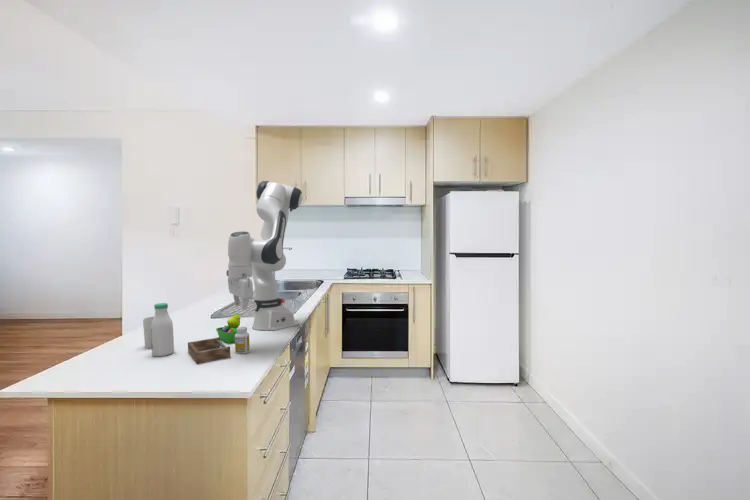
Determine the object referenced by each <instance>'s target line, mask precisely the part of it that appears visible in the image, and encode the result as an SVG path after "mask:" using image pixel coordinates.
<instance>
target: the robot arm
mask: <svg viewBox="0 0 750 500" xmlns="http://www.w3.org/2000/svg"><path fill="white" fill-rule="evenodd" d="M255 193H256V198H257V200H258V201H257V204H256V213H257V215H258V217H259V218H260V219H262V220H263V224H262V229H261V231H260V236H261V239H254V238H252V237H251V234H250V232H249V231H235V232H232V233H231V234H230V235H229V237H228V242H227V243H228V244H227V257H228V260H229V261H228V265H227V266H228V269H227V270H226V276H227V284H228V285H227V286H228V291H229V293H230V294H232V296H233V297H232V298H233V301H234V306H236V307H239V306H241V309H242V310H244V311H246V310H248V308H249V307H248V305H249V300H251V299H252V300H253V299H254V301H253V308H254V309H253V310H254V319H253V323H252V329H254V330H257V331H278V330H283V329H286V328H290V327H296V326H298V325H299V321H298V320H296V319H295V317H294V313H293V312H292V310H290V309H289V308H287V307H286V306H285V305H283V304H285V303H286V299H284V298H280V297H279V286H278V285H279V283H278V281H277V279H276V277H275V276H274V272H278V271H280V270H283V268H284V267H285V266H286V263H287V257H286V256H285V253H284V240H285V239H284V237H285V233H286V229H287V225H288V220H289V214H290V213H291V212H293V211H294V210H296V209H298V208H299V207H300V206H301V204H302V202H303V192H302V190H301V189H300V188H298V187H296V186H292V185H289V184H284V183H279V182H275V181H274V182H273V181H269V180H262V181H261V182H259V184H258V185H257V186H256V192H255ZM289 211H290V212H289ZM251 278H252V279H253V281H252V279H251ZM253 283H254V285H253ZM253 286H254V288H253ZM240 299H241V300H242V304H241V301H240Z"/></svg>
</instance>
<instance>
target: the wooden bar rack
mask: <svg viewBox="0 0 750 500" xmlns="http://www.w3.org/2000/svg"><path fill="white" fill-rule="evenodd" d="M187 353H188V354H189V355H190V357H191V358H192V359H193V361H194V362H195V364H196V365H198V364H203V363H208V362H213V361H218V360H223V359H228V358H231V346H229V345H228V346H226V345H225V344H224V343H223V342H221V340H220V338H219V336H218V337H213V338H207V339H201V340H195V341H188V342H187Z"/></svg>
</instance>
